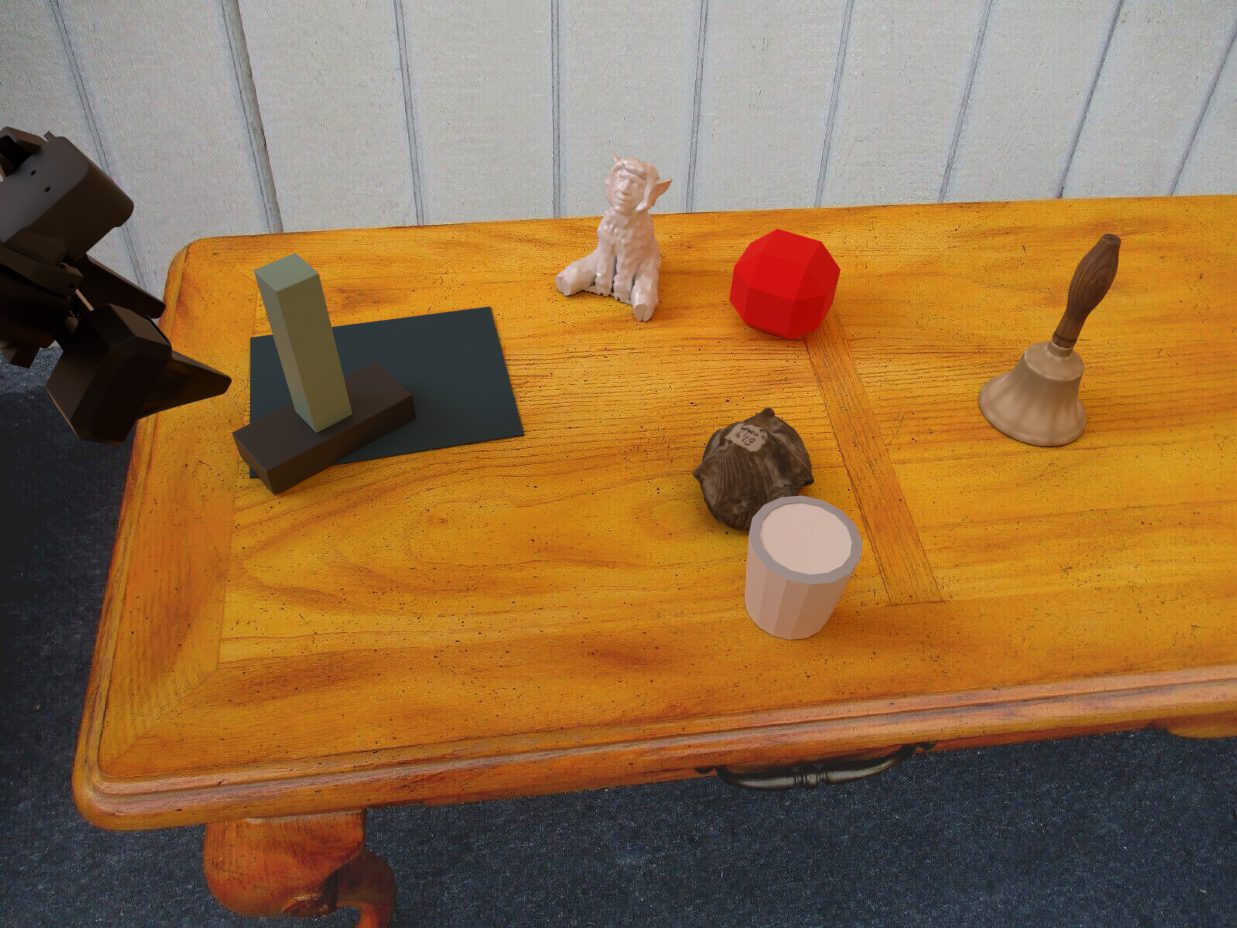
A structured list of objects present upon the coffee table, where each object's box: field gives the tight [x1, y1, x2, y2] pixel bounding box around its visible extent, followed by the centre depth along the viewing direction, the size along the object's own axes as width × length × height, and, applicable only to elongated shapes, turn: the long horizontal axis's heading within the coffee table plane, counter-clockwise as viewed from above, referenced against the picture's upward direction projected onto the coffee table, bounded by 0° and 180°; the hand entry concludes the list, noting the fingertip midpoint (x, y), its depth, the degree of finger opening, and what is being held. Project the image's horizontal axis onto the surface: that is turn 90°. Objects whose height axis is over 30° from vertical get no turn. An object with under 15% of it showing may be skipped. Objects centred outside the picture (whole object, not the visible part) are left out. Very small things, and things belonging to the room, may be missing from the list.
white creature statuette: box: [554, 153, 674, 323], centre depth 81 cm, size 10×9×12 cm
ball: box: [728, 228, 842, 341], centre depth 80 cm, size 8×8×8 cm
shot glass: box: [744, 495, 863, 641], centre depth 60 cm, size 7×7×7 cm
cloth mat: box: [249, 305, 525, 479], centre depth 76 cm, size 20×16×1 cm
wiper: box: [231, 252, 416, 496], centre depth 66 cm, size 12×5×15 cm, turn 132°
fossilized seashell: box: [692, 406, 815, 531], centre depth 68 cm, size 8×7×10 cm
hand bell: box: [978, 233, 1122, 447], centre depth 70 cm, size 8×8×16 cm
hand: (193, 346), depth 59 cm, fingers open, 9 cm apart
